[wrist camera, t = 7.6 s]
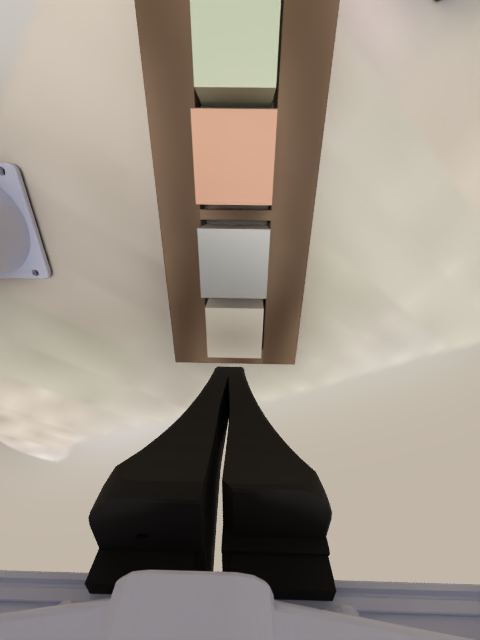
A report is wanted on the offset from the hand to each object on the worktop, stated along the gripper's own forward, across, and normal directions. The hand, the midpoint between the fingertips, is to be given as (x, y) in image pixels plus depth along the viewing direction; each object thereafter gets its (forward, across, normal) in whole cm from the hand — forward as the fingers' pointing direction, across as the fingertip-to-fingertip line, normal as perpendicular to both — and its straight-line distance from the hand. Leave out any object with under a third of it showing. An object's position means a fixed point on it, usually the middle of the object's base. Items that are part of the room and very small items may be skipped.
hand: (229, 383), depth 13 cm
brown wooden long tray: (+10, 0, -8) cm, 12 cm away
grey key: (+7, 0, -5) cm, 9 cm away
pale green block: (+9, 0, -15) cm, 18 cm away
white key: (+9, 0, 0) cm, 9 cm away
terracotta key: (+7, 0, -10) cm, 13 cm away
